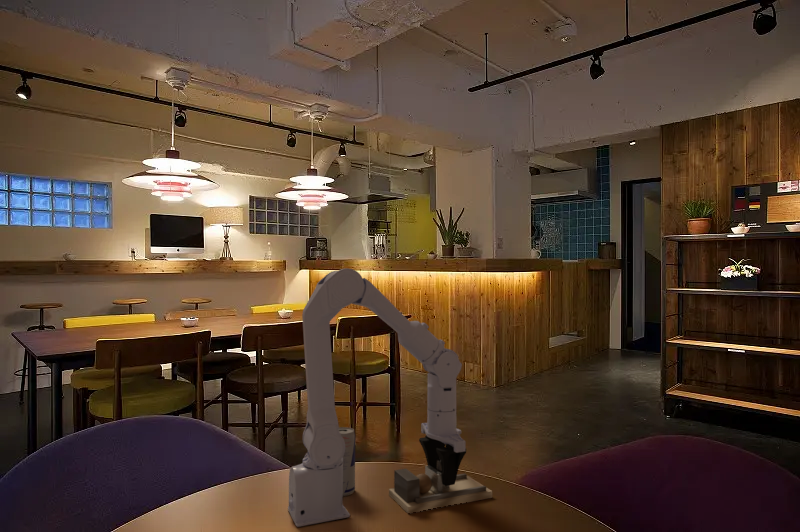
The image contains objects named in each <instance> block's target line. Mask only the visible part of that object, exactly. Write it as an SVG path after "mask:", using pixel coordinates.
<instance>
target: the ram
mask: <svg viewBox="0 0 800 532" xmlns="http://www.w3.org/2000/svg"><path fill="white" fill-rule="evenodd" d="M424 466H425V467H424V470H425V471H424V474H426V475H428V476H429V477H430V479H431V481H432V487H431V490H432V491H433V492H434V493H436V494H441V493H442V492H443V491H449V490H450V485H448V486H445V485H444V483H443V478H442V468H441V462H440V459H439V458H438V459H437V470H436V469H435V468H433V467H432V466H430V465H428V464H427V465H424Z"/></svg>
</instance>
